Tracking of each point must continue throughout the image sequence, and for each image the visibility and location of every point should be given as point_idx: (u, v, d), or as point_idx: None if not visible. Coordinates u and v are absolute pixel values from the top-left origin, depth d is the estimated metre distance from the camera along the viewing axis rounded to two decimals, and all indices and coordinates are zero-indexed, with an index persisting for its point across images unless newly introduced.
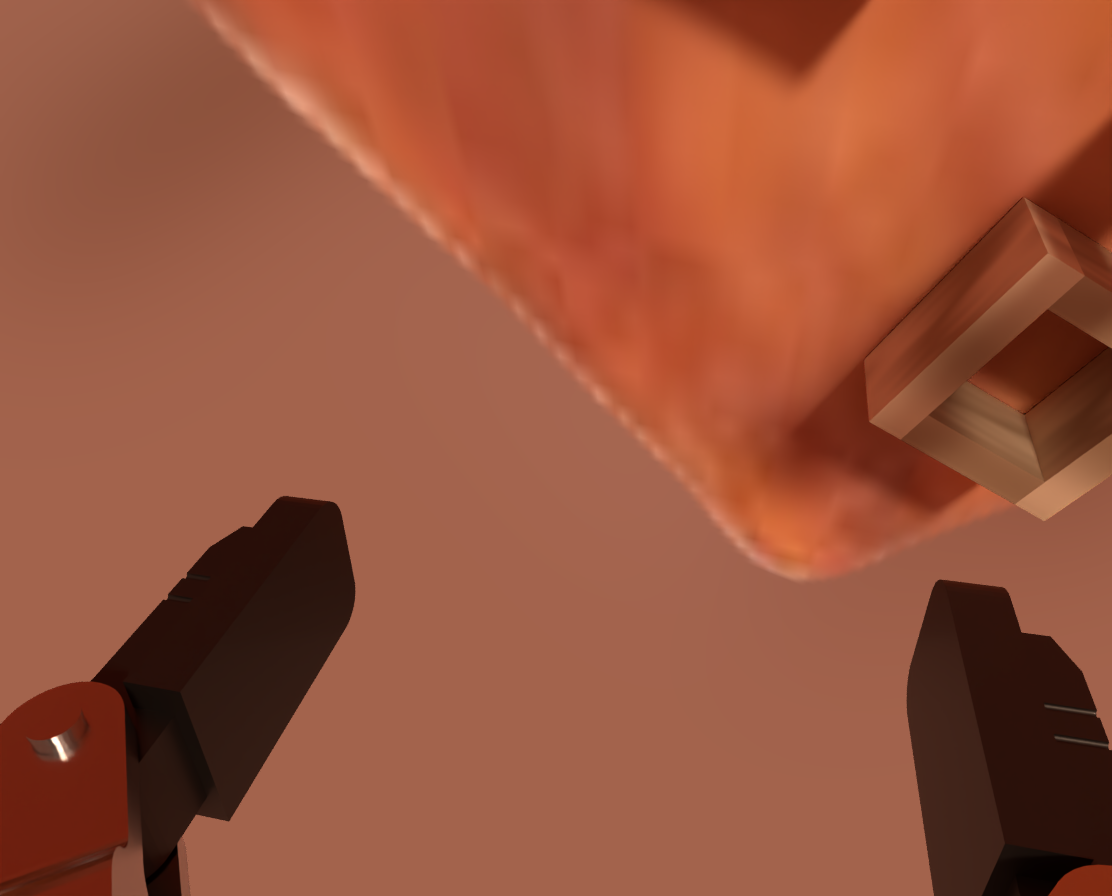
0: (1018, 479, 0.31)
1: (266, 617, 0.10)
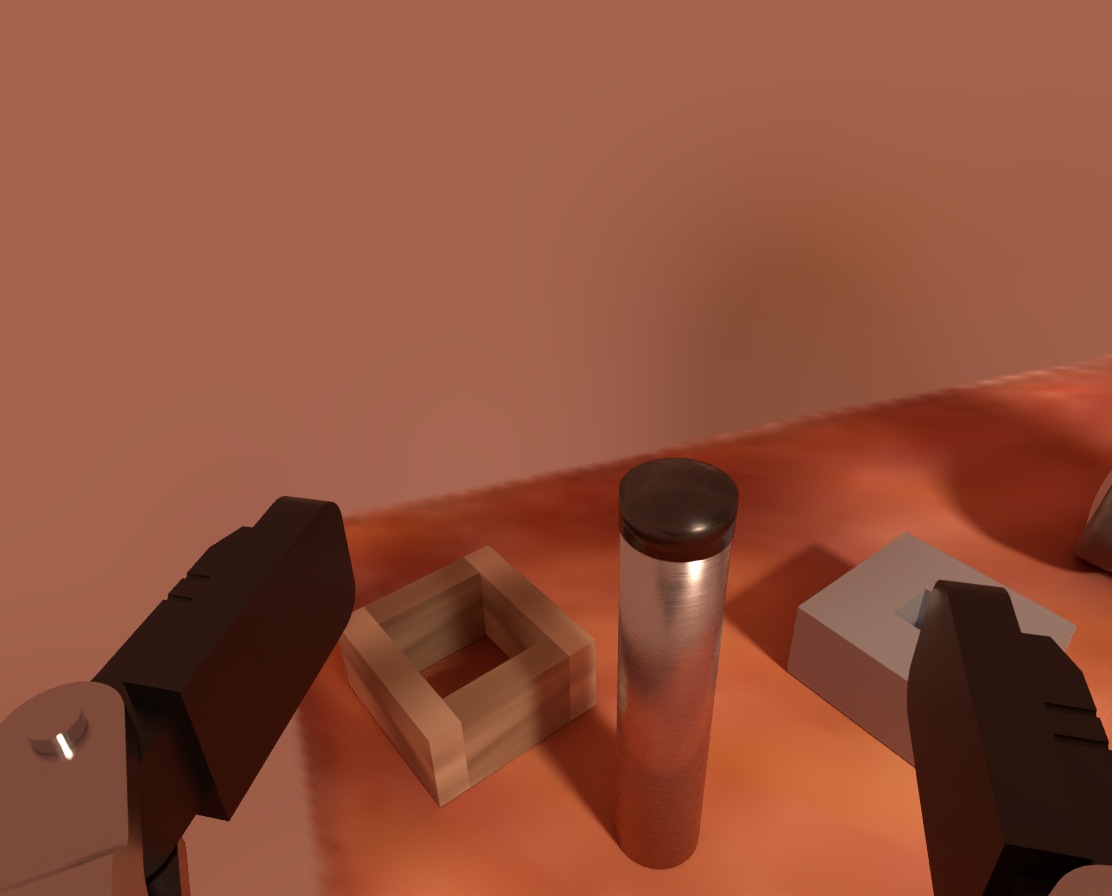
0: (389, 610, 0.37)
1: (265, 617, 0.10)
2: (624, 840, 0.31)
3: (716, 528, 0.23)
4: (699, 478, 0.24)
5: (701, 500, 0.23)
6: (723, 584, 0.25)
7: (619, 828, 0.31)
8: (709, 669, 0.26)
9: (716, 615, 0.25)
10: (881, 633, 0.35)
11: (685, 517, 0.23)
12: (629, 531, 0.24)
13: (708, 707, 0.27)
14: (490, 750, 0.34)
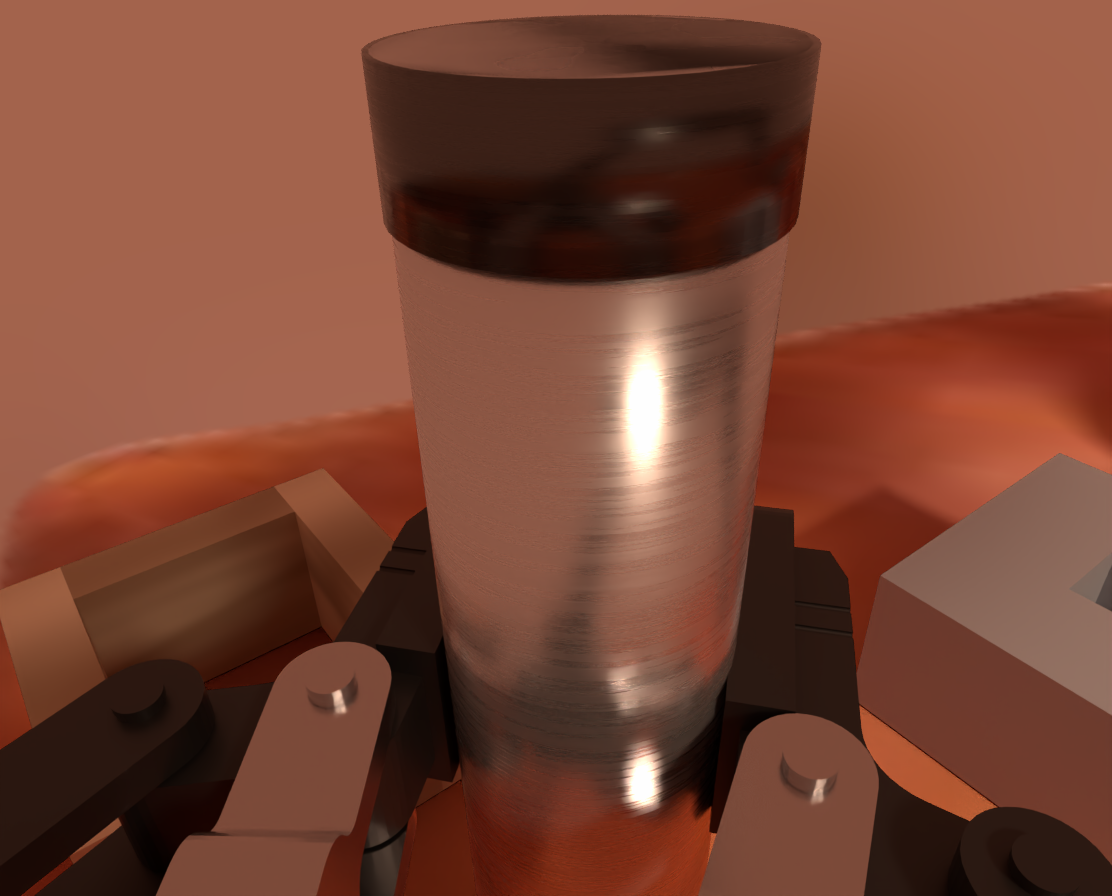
0: (105, 574, 0.20)
1: None
2: None
3: (734, 114, 0.05)
4: (671, 28, 0.07)
5: (675, 47, 0.06)
6: (753, 418, 0.07)
7: None
8: (703, 709, 0.08)
9: (728, 532, 0.07)
10: (1055, 628, 0.18)
11: (601, 67, 0.05)
12: (394, 184, 0.06)
13: (700, 816, 0.10)
14: None
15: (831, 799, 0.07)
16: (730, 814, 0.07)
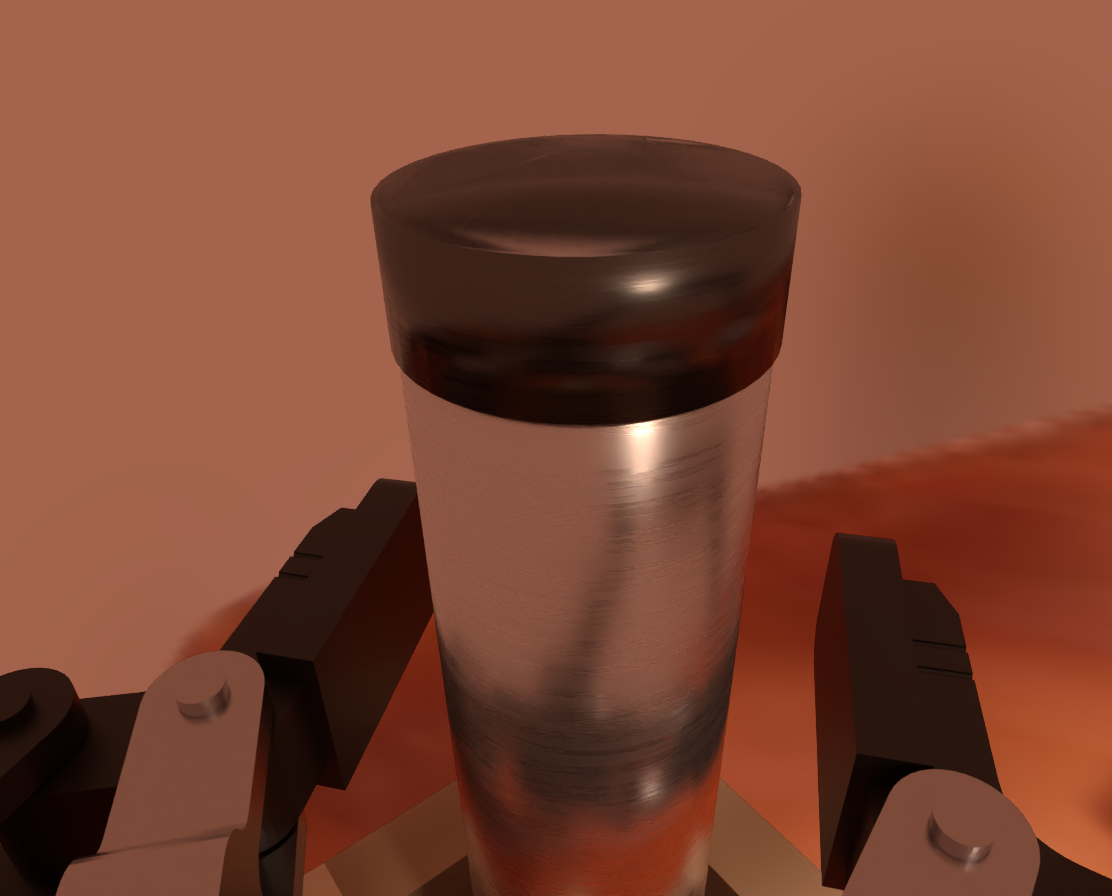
0: (391, 878, 0.14)
1: (377, 593, 0.11)
2: None
3: (718, 280, 0.06)
4: (662, 163, 0.07)
5: (663, 200, 0.06)
6: (741, 527, 0.07)
7: None
8: (696, 785, 0.09)
9: (717, 628, 0.08)
10: None
11: (595, 236, 0.06)
12: (402, 324, 0.06)
13: (694, 877, 0.10)
14: None
15: (991, 868, 0.07)
16: (885, 886, 0.07)
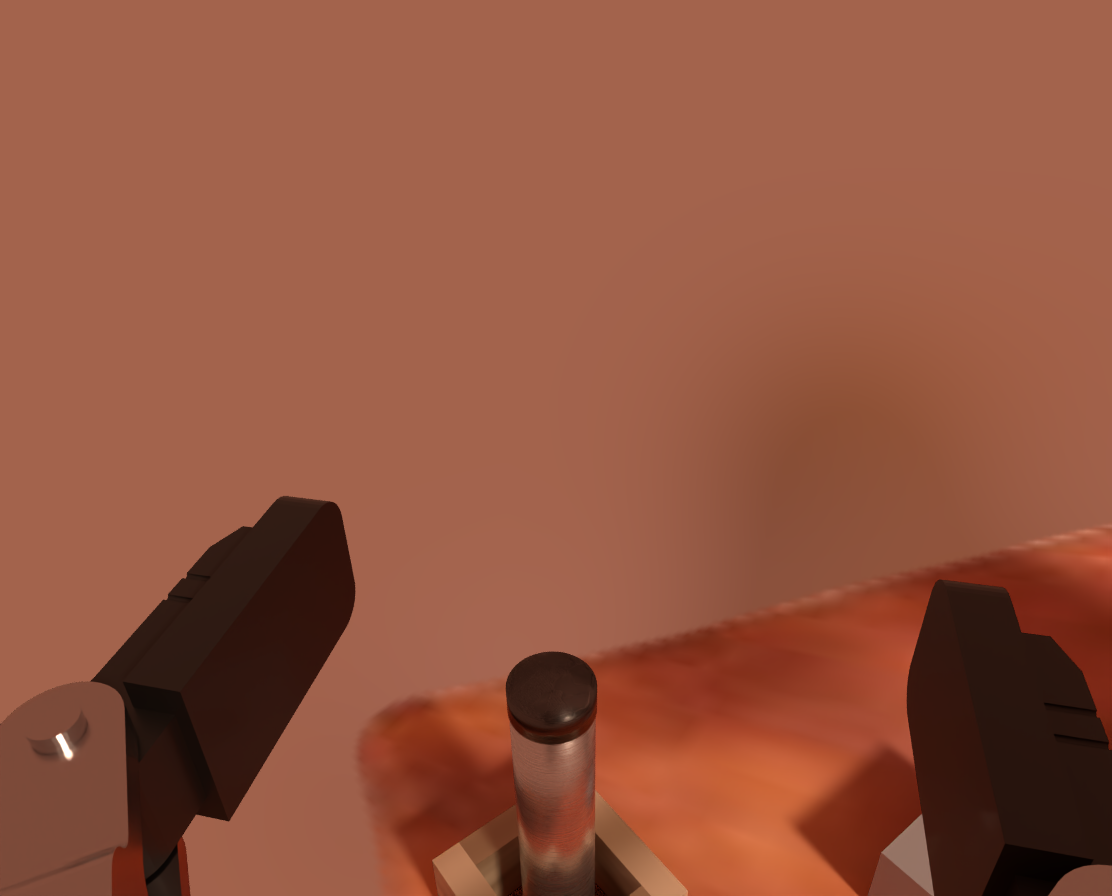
0: (485, 848, 0.38)
1: (266, 617, 0.10)
2: None
3: (575, 720, 0.30)
4: (569, 673, 0.31)
5: (567, 695, 0.30)
6: (588, 754, 0.32)
7: None
8: (583, 814, 0.33)
9: (585, 776, 0.32)
10: None
11: (552, 712, 0.30)
12: (512, 717, 0.31)
13: (586, 841, 0.34)
14: None
15: None
16: None
